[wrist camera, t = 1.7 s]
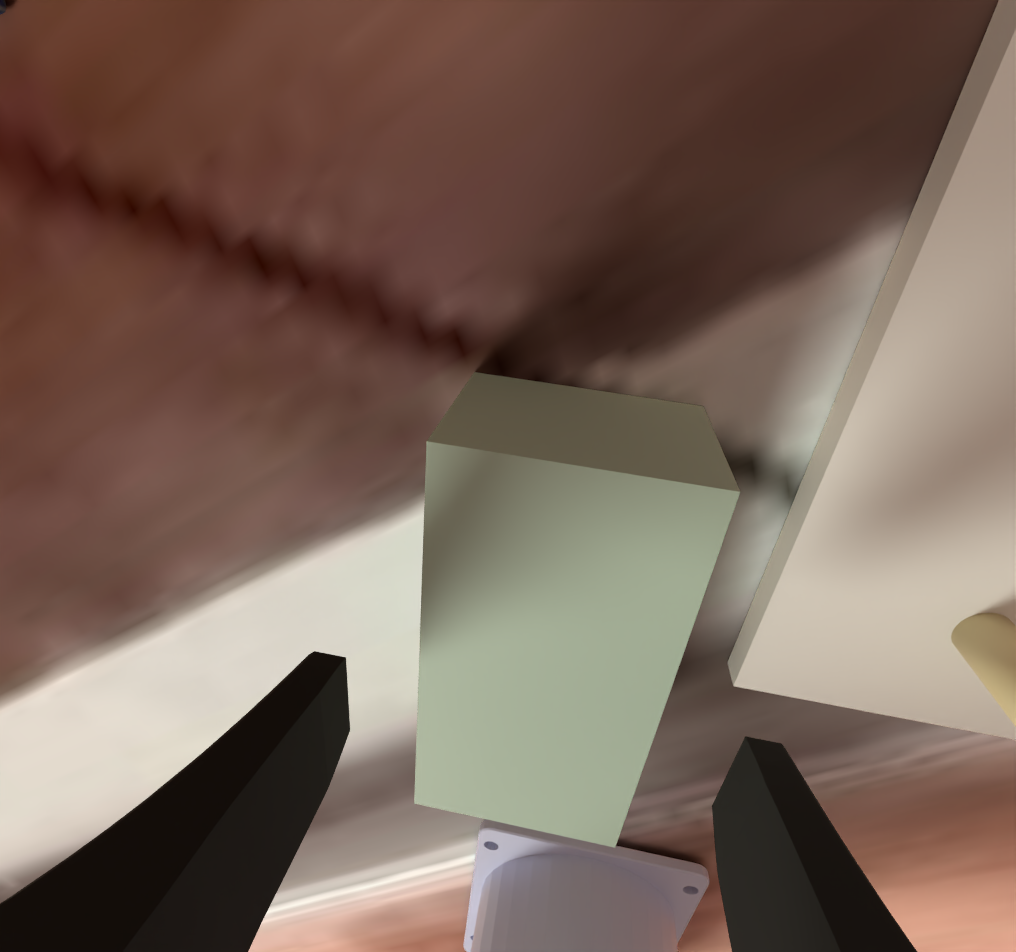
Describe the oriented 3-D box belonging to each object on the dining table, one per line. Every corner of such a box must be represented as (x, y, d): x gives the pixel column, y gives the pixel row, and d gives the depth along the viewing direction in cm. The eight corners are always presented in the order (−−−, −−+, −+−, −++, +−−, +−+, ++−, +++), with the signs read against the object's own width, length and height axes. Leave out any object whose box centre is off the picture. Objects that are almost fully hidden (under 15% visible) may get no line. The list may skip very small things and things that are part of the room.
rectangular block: (613, 709, 17) (615, 847, 13) (453, 678, 17) (414, 803, 14) (701, 402, 12) (740, 491, 9) (476, 368, 13) (426, 441, 9)
